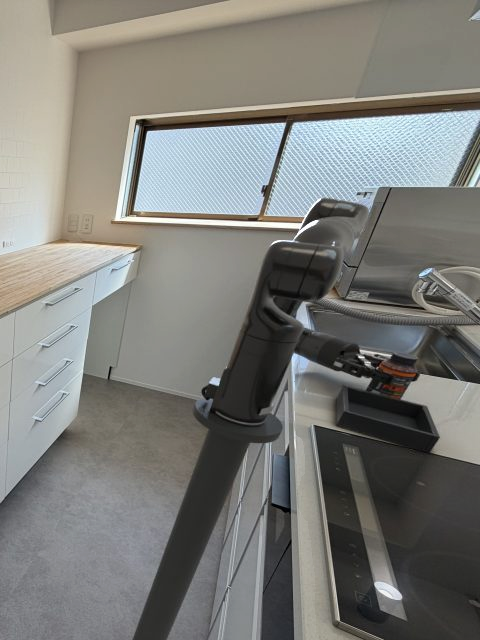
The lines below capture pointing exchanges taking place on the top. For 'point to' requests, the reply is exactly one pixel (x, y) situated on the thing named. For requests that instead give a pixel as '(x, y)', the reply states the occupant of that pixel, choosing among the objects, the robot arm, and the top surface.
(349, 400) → the bin
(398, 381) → the supplement bottle
